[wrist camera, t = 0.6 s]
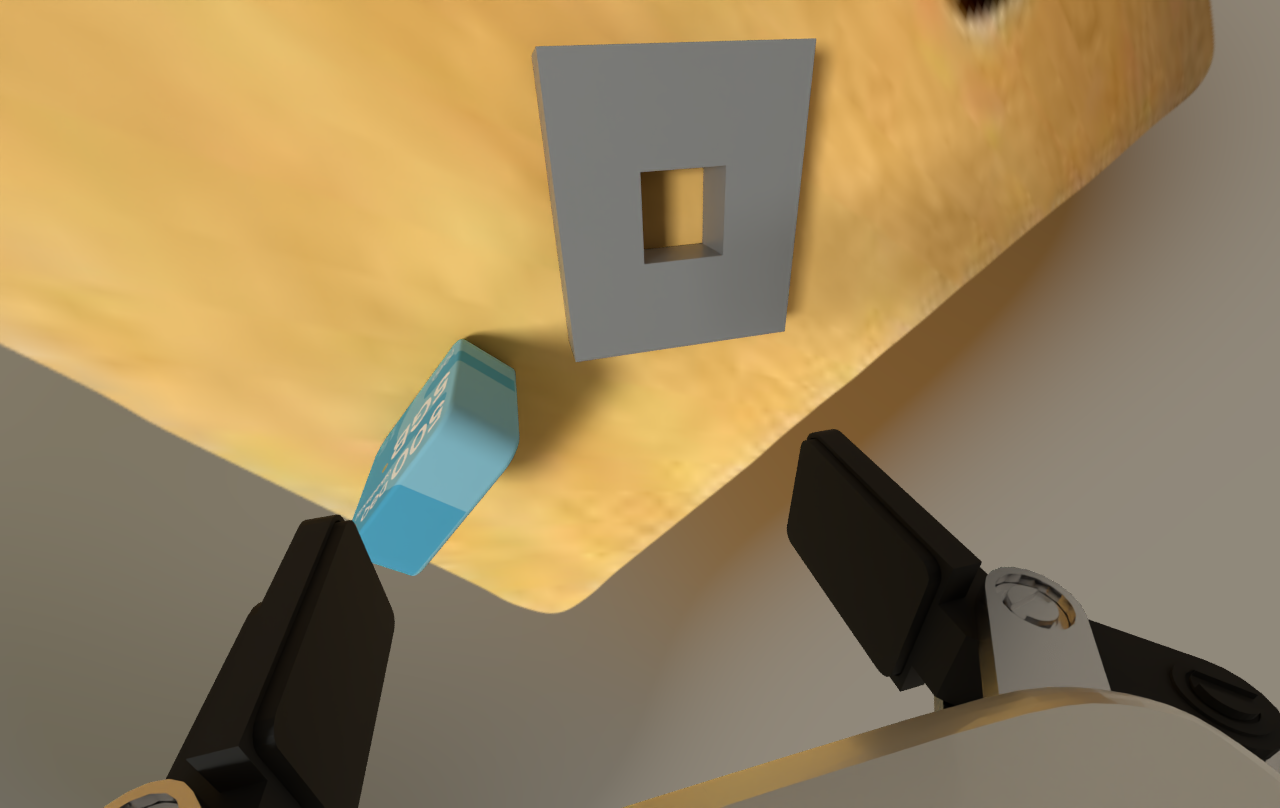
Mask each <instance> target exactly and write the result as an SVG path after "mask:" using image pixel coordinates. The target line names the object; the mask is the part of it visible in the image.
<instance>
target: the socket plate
mask: <svg viewBox="0 0 1280 808" xmlns="http://www.w3.org/2000/svg"><path fill="white" fill-rule="evenodd" d="M815 45H816V39H782V40H747V41H712V42H678V43H643V44H608V45H574V46H539V47H535V49H534V51H533V53H532V63H533V70H534V78H535V86H536V93H537V101H538V108H539V116H540V124H541V131H542V139H543V147H544V154H545V162H546V169H547V177H548V185H549V192H550V200H551V208H552V215H553V223H554V230H555V238H556V246H557V253H558V261H559V268H560V276H561V284H562V291H563V299H564V307H565V314H566V322H567V329H568V337H569V342H570V346H571V349H572V352H573V355H574V358H575V361H576V362H580V361H587V360H593V359H600V358H607V357H614V356H620V355H627V354H634V353H641V352H648V351H654V350H661V349H668V348H675V347H681V346H688V345H695V344H702V343H708V342H715V341H722V340H729V339H735V338H742V337H749V336H756V335H763V334H769V333H776V332H783V331H785V323H786V314H787V305H788V296H789V286H790V277H791V268H792V258H793V249H794V240H795V231H796V221H797V212H798V203H799V194H800V184H801V175H802V166H803V157H804V147H805V138H806V129H807V120H808V110H809V101H810V92H811V82H812V73H813V64H814V55H815ZM700 167H704V176H703V239H702V243H699V244H689V245H680V246H671V247H662V248H652V249H644V246H643V223H642V200H641V177H640V172H649V171H662V170H674V169H687V168H700Z"/></svg>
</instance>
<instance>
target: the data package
mask: <svg viewBox="0 0 1280 808" xmlns="http://www.w3.org/2000/svg"><path fill="white" fill-rule="evenodd" d="M518 444H519V422H518V406H517V390H516V374H515V370H514V369H513V368H511V367H509V366H508V365H506V364H504V363H503V362H501V361H500V360H498V359H496V358H495V357H493V356H491V355H490V354H488V353H486V352H485V351H483V350H481V349H480V348H478V347H476V346H475V345H473V344H471V343H470V342H468V341H466V340H465V339H460V340H458V341H457V342H456V343H455V344H454V345H453V347H452V348H451V349H450V351H449V352H448V353H447V355H446V356H445V358H444V359H443V360H442V362H441V363H440V364H439V366H438V367H437V369H436V370H435V371H434V373H433V374H432V375H431V377H430V378H429V380H428V381H427V382H426V384H425V385H424V386H423V388H422V389H421V391H420V392H419V393H418V395H417V396H416V398H415V399H414V400H413V402H412V403H411V404H410V406H409V407H408V409H407V410H406V411H405V413H404V414H403V415H402V417H401V418H400V420H399V421H398V422H397V424H396V425H395V426H394V428H393V429H392V431H391V432H390V433H389V435H388V436H387V438H386V439H385V441H384V442H383V444H382V446H381V447H380V449H379V451H378V453H377V455H376V457H375V460H374V463H373V465H372V468H371V471H370V474H369V476H368V479H367V482H366V484H365V487H364V490H363V493H362V495H361V498H360V501H359V503H358V506H357V509H356V511H355V514H354V517H353V520H352V521H353V522H354V523H355V525H356V527H357V529H358V532H359V534H360V536H361V539H362V541H363V543H364V545H365V548H366V550H367V552H368V555H369V557H370V559H371V562H372V563H374V564H378V565H380V566H383V567H386V568H389V569H393V570H395V571H399V572H402V573H405V574H408V575H411V576H415V575H417V574H419V573H420V572H421V571H422V570H423V569H424V568H425V567H426V565H427V564H428V563H429V562H430V561H431V560H432V558H433V557H434V556H435V555H436V553H437V552H438V551H439V550H440V549H441V547H442V546H443V545H444V544H445V543H446V541H447V540H448V539H449V538H450V536H451V535H452V534H453V533H454V532H455V530H456V529H457V528H458V527H459V526H460V524H461V523H462V522H463V521H464V519H465V518H466V517H467V516H468V515H469V513H470V512H471V511H472V510H473V509H474V507H475V506H476V505H477V504H478V502H479V501H480V500H481V499H482V498H483V496H484V495H485V494H486V493H487V492H488V490H489V489H490V488H491V487H492V485H493V484H494V483H495V482H496V481H497V479H498V478H499V477H500V476H501V474H502V473H503V472H504V471H505V470H506V468H507V467H508V465H509V464H510V462H511V461H512V459H513V457H514V455H515V453H516V450H517V447H518Z"/></svg>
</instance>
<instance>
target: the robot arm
mask: <svg viewBox="0 0 1280 808" xmlns="http://www.w3.org/2000/svg"><path fill="white" fill-rule="evenodd" d="M787 534H788V538H789V540H790V542H791V544H792V545H793V547H794V548H795V550H796V551H797V553H798V554H799V556H800V557H801V558H802V560H803V561H804V563H805V564H806V565H807V567H808V569H809V570H810V572H811V573H812V575H813V576H814V577H815V579H816V580H817V582H818V583H819V585H820V586H821V588H822V589H823V590H824V592H825V593H826V595H827V596H828V598H829V599H830V601H831V602H832V603H833V605H834V607H835V608H836V609H837V611H838V612H839V614H840V615H841V617H842V618H843V620H844V621H845V623H846V624H847V625H848V627H849V628H850V630H851V631H852V633H853V634H854V636H855V637H856V639H857V640H858V642H859V643H860V644H861V646H862V647H863V649H864V650H865V652H866V653H867V655H868V656H869V658H870V659H871V660H872V662H873V663H874V665H875V666H876V668H877V669H878V670H879V671H880V673H882V674H883V675H884V676H886V677H888V676H890V678H891V679H892V681H893V682H894V683H895V685H896V686H897V688H898V689H899V691H904V690H907V689H911V688H914V687H917V686H920V685H924V683H925V684H926V685H927V686H928V688H929V689H930V690H931V692H932V693H933V694H934V712H932V713H929V714H925V715H922V716H918V717H915V718H911V719H908V720H905V721H901V722H898V723H895V724H891V725H888V726H885V727H881V728H879V729H875V730H872V731H868V732H865V733H862V734H859V735H856V736H852V737H849V738H845V739H842V740H839V741H836V742H833V743H829V744H826V745H823V746H819V747H816V748H813V749H810V750H806V751H803V752H800V753H797V754H793V755H790V756H787V757H783V758H780V759H777V760H774V761H771V762H768V763H764V764H761V765H758V766H755V767H751V768H748V769H745V770H742V771H738V772H735V773H732V774H729V775H725V776H722V777H719V778H716V779H712V780H709V781H706V782H703V783H700V784H696V785H693V786H690V787H687V788H684V789H680V790H677V791H674V792H671V793H668V794H664V795H661V796H658V797H655V798H652V799H648V800H645V801H642V802H639V803H636V804H632V805H629V806H626V807H623V808H1280V713H1279V711H1278V710H1277V708H1276V707H1275V706H1273V704H1272V703H1271V702H1270V701H1269V700H1268V699H1267V698H1266V697H1265V696H1264V695H1263V694H1262V693H1260V692H1259V691H1258V690H1256V689H1255V688H1254V687H1252V686H1251V685H1250V684H1248V683H1247V682H1246V681H1244V680H1243V679H1241V678H1240V677H1238V676H1236V675H1234V674H1233V673H1231V672H1229V671H1228V670H1226V669H1224V668H1222V667H1219V666H1217V665H1215V664H1213V663H1210V662H1208V661H1206V660H1203V659H1200V658H1197V657H1195V656H1192V655H1189V654H1186V653H1183V652H1180V651H1177V650H1174V649H1171V648H1169V647H1166V646H1163V645H1160V644H1157V643H1154V642H1152V641H1148V640H1146V639H1143V638H1140V637H1137V636H1134V635H1132V634H1128V633H1126V632H1123V631H1120V630H1117V629H1114V628H1111V627H1109V626H1106V625H1103V624H1100V623H1097V622H1094V621H1091V620H1088V618H1087V615H1086V613H1085V611H1084V609H1083V608H1082V606H1081V604H1080V603H1079V602H1078V601H1077V600H1076V599H1075V598H1074V597H1073V596H1072V594H1071V593H1069V592H1068V591H1067V590H1066V589H1064V588H1063V587H1062V586H1060V585H1059V584H1058V583H1056V582H1054V581H1052V580H1050V579H1048V578H1047V577H1045V576H1043V575H1040V574H1038V573H1035V572H1032V571H1030V570H1026V569H1021V568H1016V567H1000V568H998V569H995V570H992V571H991V572H990V573H989V574H987V573H986V572H985V571H983V570H982V569H981V568H980V565H981V561H980V560H979V559H978V558H977V557H976V556H975V555H974V554H973V553H972V552H971V551H969V550H968V549H967V548H966V547H965V546H964V545H963V544H962V543H961V542H960V541H959V540H958V539H956V538H955V537H954V536H953V535H952V534H951V533H950V532H949V531H948V530H947V529H945V527H943V526H942V525H941V524H940V523H939V522H938V521H937V520H936V519H935V518H934V517H933V516H932V515H930V514H929V513H928V512H927V511H926V510H925V509H924V508H923V507H922V506H920V505H919V504H918V503H917V502H916V501H915V500H914V499H913V498H912V497H911V496H910V495H909V494H908V493H906V492H905V491H904V490H903V489H902V488H901V487H900V486H899V485H898V484H897V483H896V482H894V481H893V480H892V479H891V478H890V477H889V476H888V475H887V474H886V473H885V472H883V470H881V469H880V468H879V467H878V466H877V465H876V464H875V463H874V462H873V461H872V460H870V458H868V457H867V456H866V455H865V454H864V453H863V452H862V451H861V450H860V449H859V448H858V447H856V446H855V445H854V444H853V443H852V442H851V441H850V440H849V439H848V438H847V437H846V436H845V435H843V434H842V433H841V432H840V431H838V430H836V429H831V430H825V431H819V432H814V433H811V434H809V436H808V437H807V440H805V441H803V442H802V445H801V449H800V454H799V460H798V467H797V472H796V477H795V483H794V489H793V495H792V501H791V506H790V513H789V518H788V524H787ZM394 622H395V621H394V613H393V610H392V608H391V605H390V603H389V601H388V598H387V596H386V594H385V592H384V589H383V587H382V585H381V582H380V580H379V578H378V575H377V573H376V571H375V569H374V566H373V564H372V562H371V559H370V557H369V555H368V552H367V550H366V548H365V545H364V543H363V541H362V539H361V536H360V534H359V532H358V529H357V527H356V525H355V523H354V522H353V521H352V520H348V521H344V519H343V517H341V516H340V515H332V516H326V517H320V518H314V519H309V520H305V521H303V522H302V523H301V524H300V526H299V528H298V529H297V531H296V533H295V536H294V538H293V540H292V542H291V544H290V546H289V548H288V550H287V552H286V554H285V556H284V559H283V560H282V562H281V564H280V566H279V568H278V571H277V572H276V575H275V577H274V579H273V581H272V583H271V585H270V587H269V589H268V591H267V593H266V595H265V597H264V599H263V601H262V602H260V603H258V604H257V605H256V606H255V607H253V609H252V610H251V612H250V614H249V615H248V617H247V618H246V620H245V622H244V624H243V626H242V628H241V630H240V633H239V634H238V637H237V638H236V640H235V643H234V644H233V646H232V648H231V650H230V652H229V655H228V656H227V658H226V660H225V662H224V664H223V666H222V668H221V670H220V672H219V674H218V676H217V678H216V680H215V682H214V684H213V686H212V688H211V690H210V692H209V694H208V696H207V698H206V700H205V702H204V704H203V706H202V708H201V710H200V712H199V714H198V716H197V718H196V720H195V722H194V724H193V726H192V728H191V730H190V732H189V734H188V736H187V738H186V740H185V742H184V744H183V746H182V748H181V750H180V752H179V754H178V756H177V758H176V760H175V762H174V764H173V766H172V768H171V770H170V772H169V774H168V776H167V778H166V780H161V781H155V782H149V783H147V784H145V785H142V786H140V787H138V788H136V789H133V790H131V791H128V792H127V793H125V794H123V795H122V796H120V797H119V798H117V799H116V800H114V801H113V802H111V803H109V804H108V805H106V806H105V807H103V808H358V805H359V800H360V795H361V790H362V785H363V781H364V775H365V771H366V766H367V761H368V756H369V751H370V746H371V741H372V736H373V731H374V726H375V721H376V717H377V711H378V707H379V702H380V697H381V692H382V687H383V682H384V677H385V672H386V667H387V662H388V657H389V652H390V648H391V643H392V637H393V633H394V624H395V623H394Z"/></svg>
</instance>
